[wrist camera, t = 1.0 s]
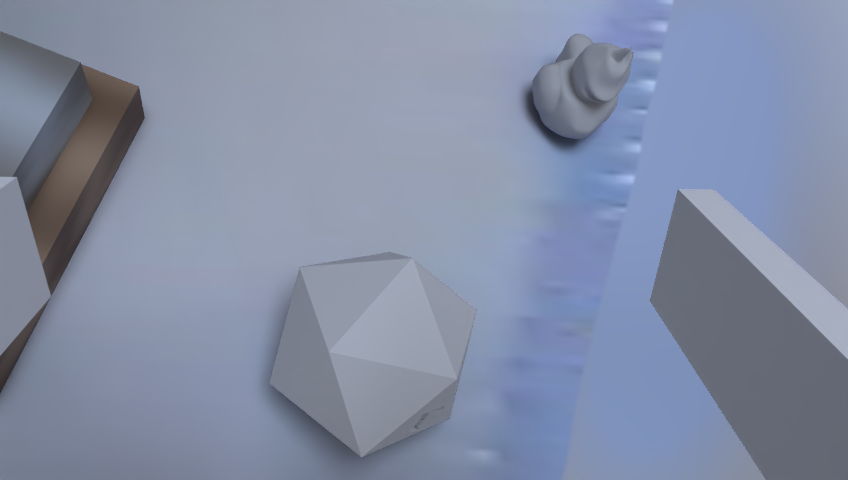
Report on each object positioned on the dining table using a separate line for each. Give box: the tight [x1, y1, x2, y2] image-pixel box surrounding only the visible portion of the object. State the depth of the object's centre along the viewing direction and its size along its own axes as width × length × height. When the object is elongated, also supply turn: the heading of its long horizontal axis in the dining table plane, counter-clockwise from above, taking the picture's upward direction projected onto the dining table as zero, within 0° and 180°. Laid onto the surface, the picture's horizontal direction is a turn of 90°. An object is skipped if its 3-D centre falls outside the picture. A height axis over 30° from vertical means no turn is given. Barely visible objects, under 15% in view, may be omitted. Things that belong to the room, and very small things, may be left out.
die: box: [269, 252, 477, 457], centre depth 29 cm, size 8×9×10 cm
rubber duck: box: [532, 34, 633, 139], centre depth 38 cm, size 5×7×8 cm
